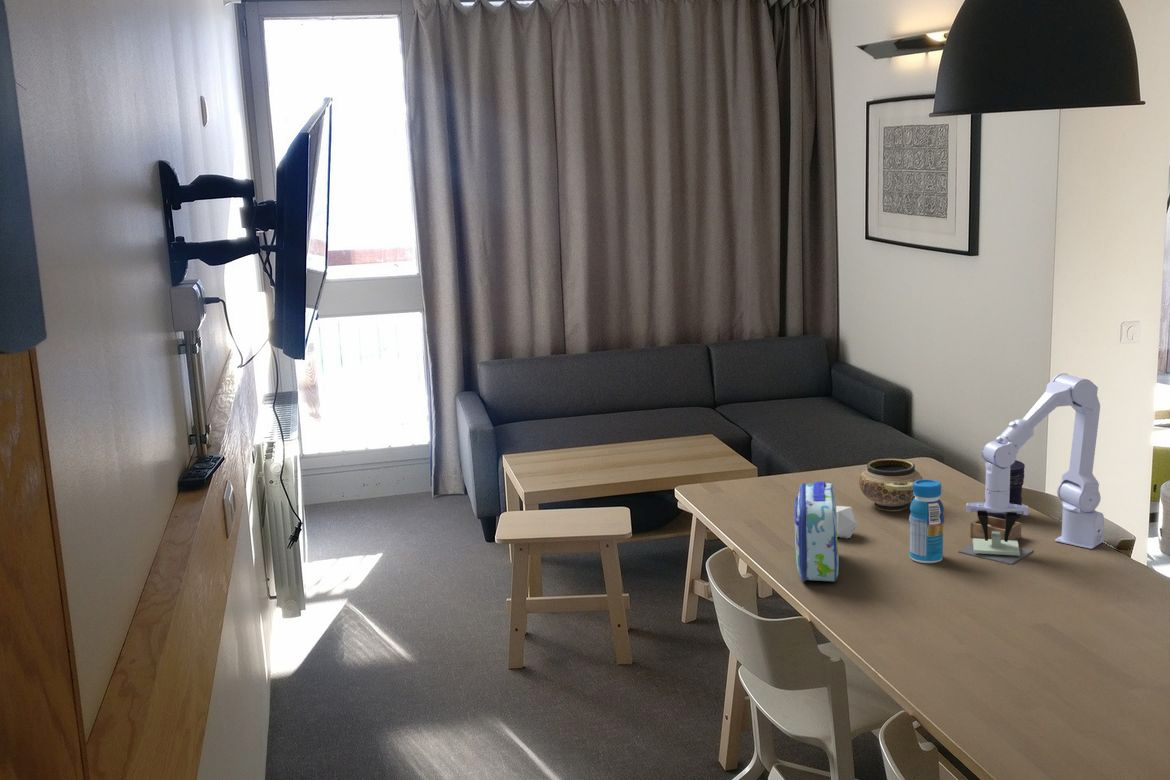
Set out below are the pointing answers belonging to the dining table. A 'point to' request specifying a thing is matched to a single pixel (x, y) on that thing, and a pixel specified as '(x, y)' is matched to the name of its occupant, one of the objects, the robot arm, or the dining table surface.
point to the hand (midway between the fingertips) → (996, 539)
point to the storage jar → (1014, 487)
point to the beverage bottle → (926, 522)
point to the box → (995, 529)
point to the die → (845, 521)
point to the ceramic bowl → (889, 483)
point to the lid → (996, 546)
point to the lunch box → (816, 532)
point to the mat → (997, 555)
